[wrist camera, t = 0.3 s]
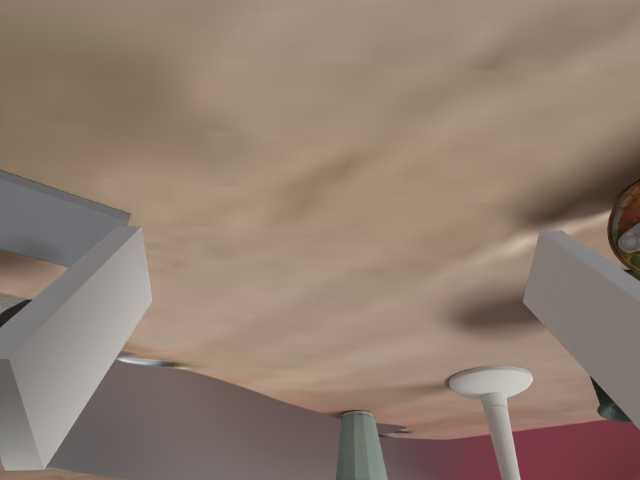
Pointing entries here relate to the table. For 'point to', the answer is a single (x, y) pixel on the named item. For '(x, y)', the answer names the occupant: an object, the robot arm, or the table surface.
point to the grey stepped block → (51, 221)
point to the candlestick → (495, 406)
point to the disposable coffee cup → (359, 448)
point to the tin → (626, 228)
